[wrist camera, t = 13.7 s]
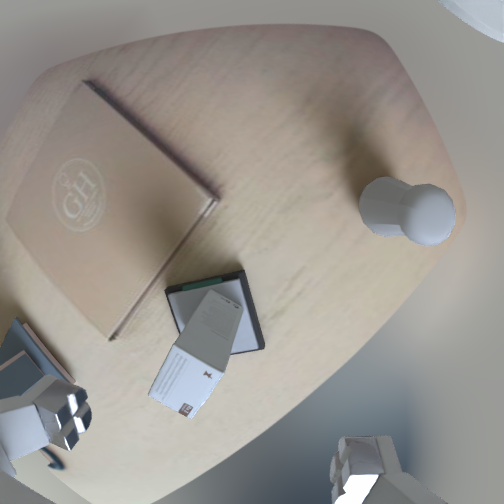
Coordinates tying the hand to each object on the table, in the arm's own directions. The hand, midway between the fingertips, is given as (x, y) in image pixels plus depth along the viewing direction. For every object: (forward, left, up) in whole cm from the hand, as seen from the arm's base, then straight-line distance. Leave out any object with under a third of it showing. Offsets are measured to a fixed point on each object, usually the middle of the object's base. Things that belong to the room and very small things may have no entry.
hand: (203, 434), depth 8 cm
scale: (+5, -7, -26) cm, 27 cm away
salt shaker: (-2, +13, -26) cm, 29 cm away
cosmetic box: (+5, -6, -24) cm, 25 cm away
